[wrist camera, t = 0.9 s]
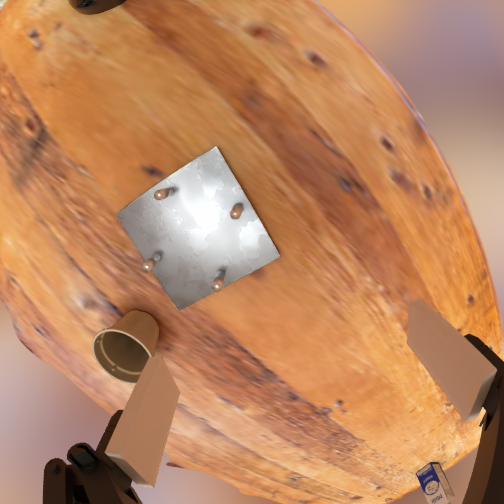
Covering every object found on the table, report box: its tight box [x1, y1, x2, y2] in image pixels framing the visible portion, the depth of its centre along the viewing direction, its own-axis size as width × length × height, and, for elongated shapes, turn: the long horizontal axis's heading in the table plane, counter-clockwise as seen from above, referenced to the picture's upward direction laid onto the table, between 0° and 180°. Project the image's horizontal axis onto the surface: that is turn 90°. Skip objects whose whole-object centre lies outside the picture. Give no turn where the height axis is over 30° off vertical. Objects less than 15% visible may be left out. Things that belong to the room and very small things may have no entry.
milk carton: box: [416, 462, 455, 504], centre depth 50 cm, size 7×7×20 cm
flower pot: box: [92, 310, 159, 385], centre depth 37 cm, size 9×9×9 cm
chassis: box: [116, 146, 281, 310], centre depth 34 cm, size 16×16×5 cm
